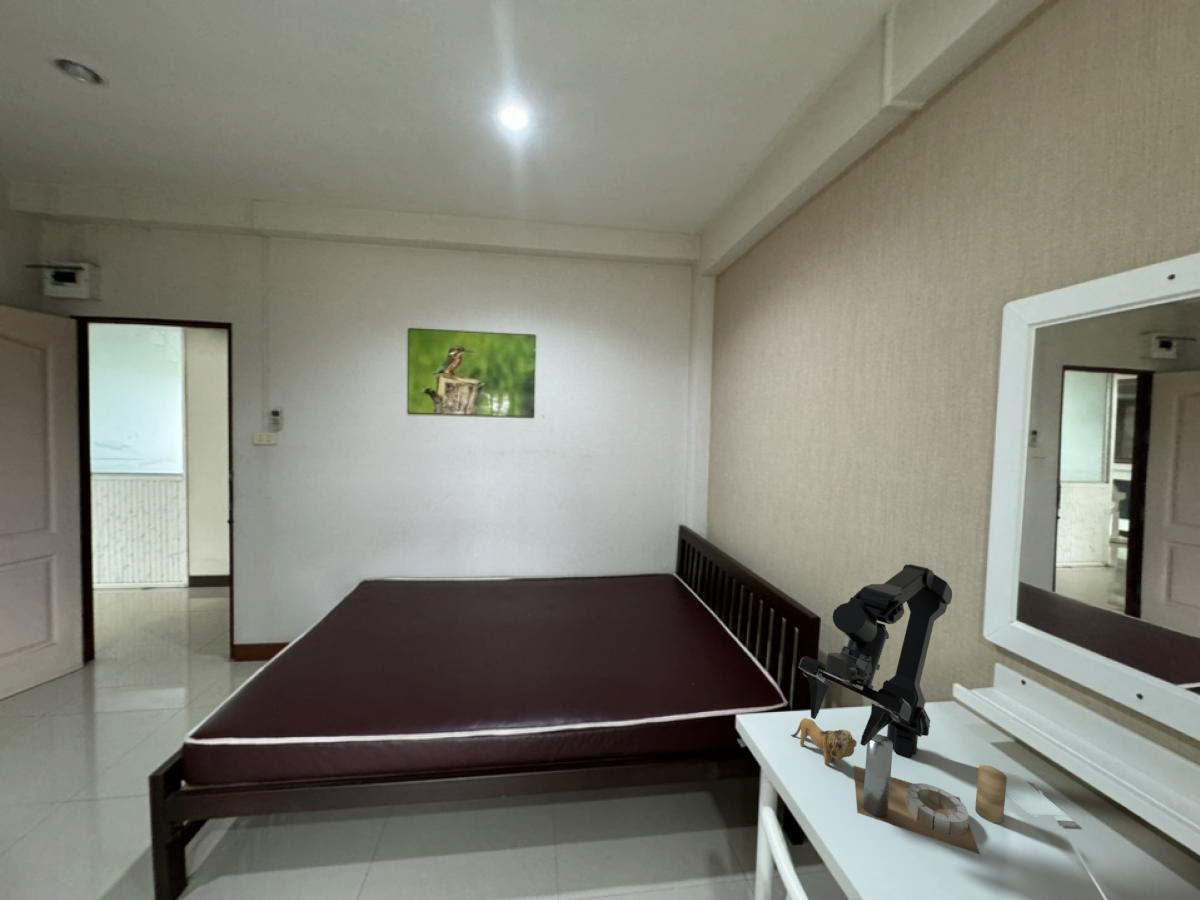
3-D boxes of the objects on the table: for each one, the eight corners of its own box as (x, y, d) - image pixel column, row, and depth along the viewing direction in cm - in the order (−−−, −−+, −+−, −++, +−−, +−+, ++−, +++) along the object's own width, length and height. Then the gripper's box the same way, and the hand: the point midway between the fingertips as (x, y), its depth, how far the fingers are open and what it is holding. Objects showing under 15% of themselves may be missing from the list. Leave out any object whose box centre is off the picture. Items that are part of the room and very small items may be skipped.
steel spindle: (862, 797, 91) (867, 731, 90) (886, 805, 89) (891, 737, 89) (863, 812, 87) (868, 743, 87) (888, 821, 86) (894, 750, 85)
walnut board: (853, 770, 100) (853, 765, 100) (958, 802, 92) (959, 797, 92) (857, 817, 87) (857, 812, 87) (979, 859, 80) (980, 854, 80)
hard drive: (978, 770, 100) (1032, 819, 88) (1017, 772, 100) (1076, 820, 88) (977, 778, 100) (1032, 827, 88) (1016, 780, 100) (1076, 829, 88)
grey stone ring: (903, 789, 94) (904, 777, 94) (959, 807, 90) (960, 794, 90) (910, 822, 86) (911, 809, 85) (972, 843, 82) (974, 829, 82)
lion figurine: (858, 775, 99) (862, 732, 98) (844, 784, 96) (847, 740, 95) (795, 735, 111) (797, 697, 111) (780, 742, 108) (783, 703, 108)
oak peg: (972, 808, 91) (976, 762, 91) (998, 816, 89) (1002, 769, 89) (978, 823, 87) (982, 775, 87) (1005, 832, 86) (1010, 783, 85)
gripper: (800, 618, 96) (771, 694, 92) (903, 656, 81) (874, 750, 77) (823, 638, 102) (796, 710, 97) (922, 676, 87) (897, 764, 82)
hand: (836, 731), depth 88 cm, fingers open, 9 cm apart
